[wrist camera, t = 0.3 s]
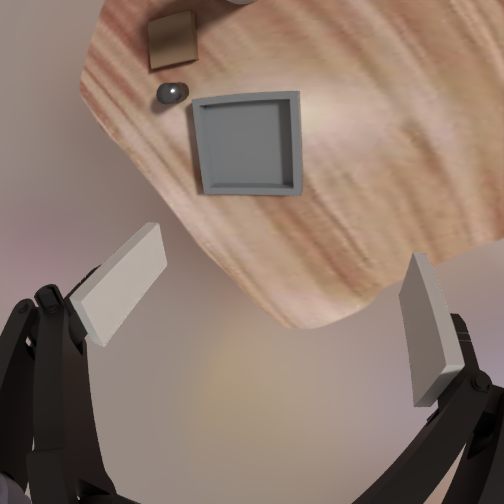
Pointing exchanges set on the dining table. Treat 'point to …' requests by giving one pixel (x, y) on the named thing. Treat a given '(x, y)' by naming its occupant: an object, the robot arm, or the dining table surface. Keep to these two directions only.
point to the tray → (250, 143)
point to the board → (173, 39)
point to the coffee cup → (241, 1)
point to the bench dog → (172, 92)
